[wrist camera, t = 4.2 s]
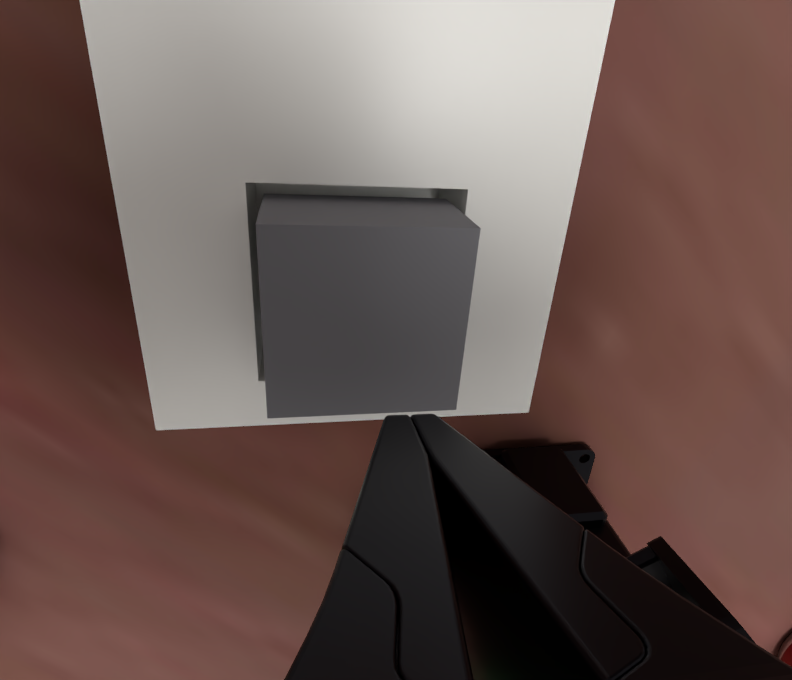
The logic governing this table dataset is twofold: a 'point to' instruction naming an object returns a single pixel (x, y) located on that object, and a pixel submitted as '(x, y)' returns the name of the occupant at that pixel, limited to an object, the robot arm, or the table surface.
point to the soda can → (786, 651)
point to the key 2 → (363, 303)
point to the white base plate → (336, 165)
